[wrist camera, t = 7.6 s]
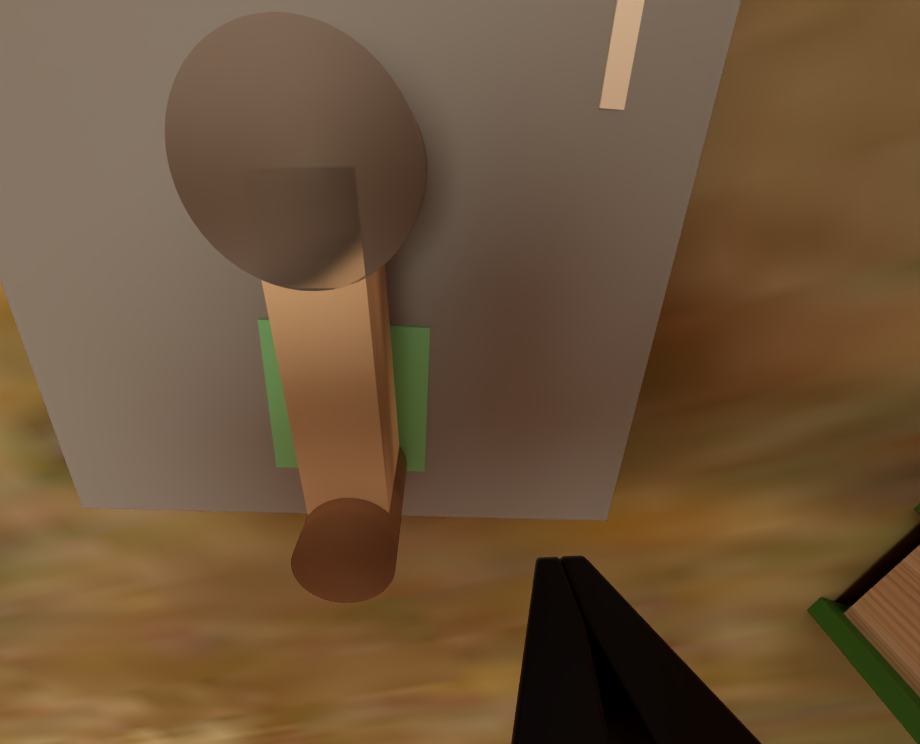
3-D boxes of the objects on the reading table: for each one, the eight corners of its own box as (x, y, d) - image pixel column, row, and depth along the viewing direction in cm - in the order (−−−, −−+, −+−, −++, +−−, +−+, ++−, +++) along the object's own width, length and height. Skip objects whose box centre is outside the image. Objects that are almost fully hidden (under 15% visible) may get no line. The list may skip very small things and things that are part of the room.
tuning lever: (218, 56, 10) (81, -12, 6) (423, 55, 10) (412, -13, 6) (304, 496, 15) (258, 606, 11) (439, 492, 15) (439, 599, 11)
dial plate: (813, -441, 8) (891, -568, 7) (593, 493, 17) (607, 522, 16) (-231, -608, 7) (-398, -803, 6) (112, 479, 16) (80, 510, 15)
